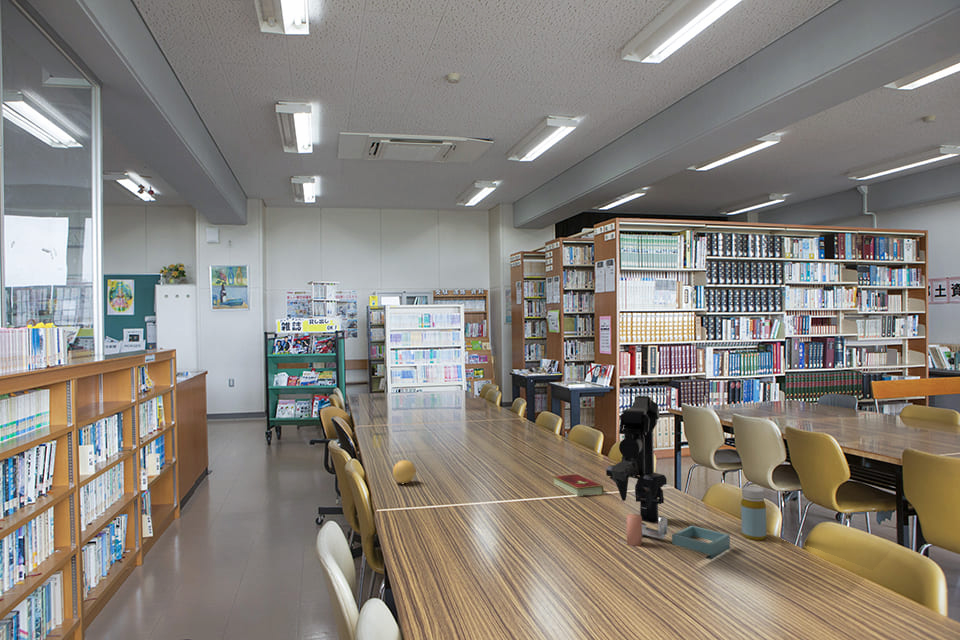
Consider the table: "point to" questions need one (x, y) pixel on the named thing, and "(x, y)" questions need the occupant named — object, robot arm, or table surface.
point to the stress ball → (404, 471)
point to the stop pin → (634, 529)
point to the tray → (713, 549)
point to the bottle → (753, 513)
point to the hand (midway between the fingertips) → (635, 504)
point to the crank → (656, 533)
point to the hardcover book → (578, 484)
